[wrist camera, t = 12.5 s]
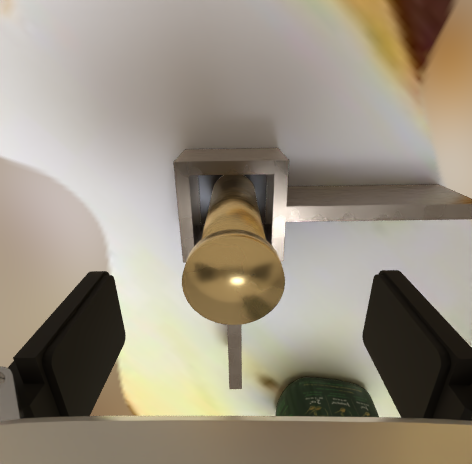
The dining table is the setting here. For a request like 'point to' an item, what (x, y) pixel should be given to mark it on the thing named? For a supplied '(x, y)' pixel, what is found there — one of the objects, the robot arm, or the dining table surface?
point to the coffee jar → (325, 399)
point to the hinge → (300, 206)
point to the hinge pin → (233, 259)
